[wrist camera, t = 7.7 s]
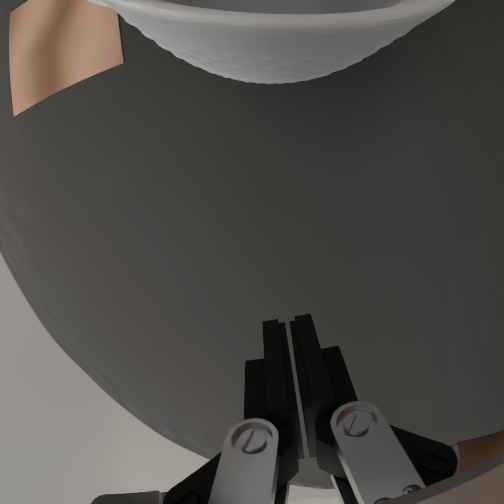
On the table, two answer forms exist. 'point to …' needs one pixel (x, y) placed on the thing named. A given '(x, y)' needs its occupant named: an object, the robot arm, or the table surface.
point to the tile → (59, 47)
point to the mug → (274, 32)
